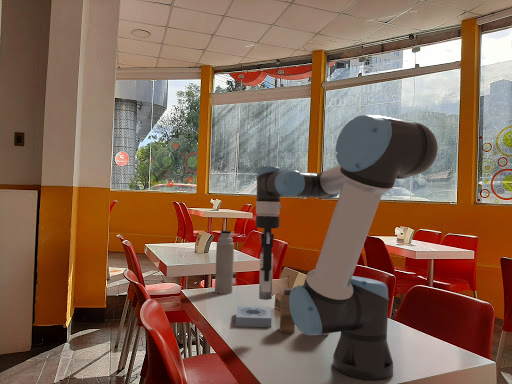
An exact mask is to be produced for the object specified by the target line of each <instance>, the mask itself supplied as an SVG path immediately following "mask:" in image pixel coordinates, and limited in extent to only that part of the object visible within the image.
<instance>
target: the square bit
mask: <svg viewBox="0 0 512 384" xmlns="http://www.w3.org/2000/svg"><path fill="white" fill-rule="evenodd" d="M292 289H293V288H290V287H289V288H287V287H286V288H285V287H284V292H280V309H279V332H280V334H281V333H283V334H285V333H286V334H295V328H296V325H295V323H294V321H293V319H292V316H291V312H290V306H289V298H290V293H291V290H292Z"/></svg>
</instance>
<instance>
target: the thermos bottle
mask: <svg viewBox="0 0 512 384" xmlns="http://www.w3.org/2000/svg"><path fill="white" fill-rule="evenodd" d="M217 239H218V240H217V242H216V254H215V255H216V256H215V274H214V275H215V279H214V280H215V282H214V293H215V292H216V294H218V293H221V294H220V295H228V294H232V293H233V280H234V254H235V243H234V242H233V241H234V239H233V237H232V231H231V230H220V237H218V238H217Z"/></svg>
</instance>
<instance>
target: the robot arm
mask: <svg viewBox="0 0 512 384" xmlns="http://www.w3.org/2000/svg"><path fill="white" fill-rule="evenodd" d="M438 149H439V146H438V141H437V138H436V135H435V134H434V132H433V131H431V129H429V128H428V127H427V126H426V125H425V124H422V123H420V122H417V121H412V120H405V119H399V118H393V117H388V116H383V115H379V114H374V115H373V114H361V115H357V116H355V117H354V118H353V119H351V120H349V121H348V122H346V124H344V126H343V127H342V128H341V130H340V133H339V134H338V137H337V140H336V144H335V152H336V154H335V158H336V162H337V164H338V165H337V166H334V167H332V168H329V169H326V170H324V171H321V172H305V171H304V172H302V171H298V170H295V169H285V170H281V167H279V166H274V165H264V166H263V165H262V166H259V167H258V168H257V176H256V202H255V214H256V216H255V228H257V229H263V231H262V232H263V233H260V239H261V243H260V245H261V253H263V268H260V267H259V271H260V270H262V292H270V290H271V268H272V267H271V262H272V253H273V247H274V238H275V234H274V233H272V229H279V228H280V221H281V218H280V216H279V215H280V214H281V213H280V211H281V210H280V209H282V208H283V207H282V205H281V197H286V198H287V197H288V198H291V197H295V198H313V199H315V198H317V199H324V200H325V199H326V200H327V199H335V198H337V197H338V198H337V201H336V205H335V207H334V211H333V213H332V216H331V219H330V223H329V225H328V229H327V232H326V235H325V238H324V242H323V244H322V248H321V251H320V254H319V257H318V259H317V263H316V265H315V269H312V270H309V271H308V272H307V274H306V275H305V276H306V277H305V280H304V282H303V285H301V284H299V285H297V286H295V287H293V288H291V289H292V290H291V293H290V298H289V306H290V312H291V316H292V319H293V321H294V323H295V328H297V330H299V332H300V333H302V334H303V335H306V336H322V335H321V334H328V333H329V334H332V333H338V332H339V333H340V336H339V337H338V338H339V339H338V341H337V345H336V347H335V350H334V352H333V355H332V356H333V357H332V359H333V360H332V364H333V367H334V369H336V370H337V371H338V372H339V373H341V374H344V375H346V376H349V377H351V378H356V379H361V380H369V381H375V380H376V381H377V380H378V381H379V380H385V379H389V378H390V377H391V376H393V373H394V361H393V357H392V354H391V350H390V347H389V344H388V319H389V318H388V317H389V316H388V315H389V301H390V298H389V289H388V286H387V284H386V283H385V282H383V281H379V280H376V279H372V278H367V277H362V276H355V275H353V274H354V273H355V269H356V267H357V264H358V262H359V259H360V256H361V253H362V250H363V248H364V245H365V242H366V239H367V237H368V236H369V231H370V229H371V226H372V224H373V220H374V219H375V215H376V212H377V210H378V207H379V204H380V202H381V199H382V196H383V194H384V193H385V192H387V191H390V190H392V189H393V188H394V186H395V182H396V180H401V179H405V178H409V177H413V176H416V175H420V174H422V173H425V172H426V171H427V170H428V169H430V167H432V165H433V164H434V162H435V161H436V158H437V155H438Z"/></svg>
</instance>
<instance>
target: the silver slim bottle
mask: <svg viewBox="0 0 512 384" xmlns="http://www.w3.org/2000/svg"><path fill="white" fill-rule="evenodd" d="M273 260H274V254H273V252H272V262H271V267H272V268H271V290H270V292H262V270H260V268H263V253H262V252H260V255H259V279H258V280H259V283H258V284H259V285H258V286H259V287H258V288H259V289H258V293H259V294H258V299H259V300H263V301H265V300H267V301H268V300H272V297H273V294H272V293H273V264H274V261H273Z"/></svg>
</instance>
